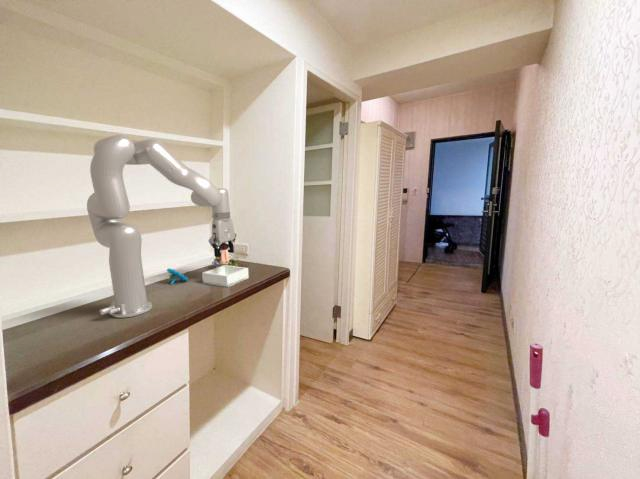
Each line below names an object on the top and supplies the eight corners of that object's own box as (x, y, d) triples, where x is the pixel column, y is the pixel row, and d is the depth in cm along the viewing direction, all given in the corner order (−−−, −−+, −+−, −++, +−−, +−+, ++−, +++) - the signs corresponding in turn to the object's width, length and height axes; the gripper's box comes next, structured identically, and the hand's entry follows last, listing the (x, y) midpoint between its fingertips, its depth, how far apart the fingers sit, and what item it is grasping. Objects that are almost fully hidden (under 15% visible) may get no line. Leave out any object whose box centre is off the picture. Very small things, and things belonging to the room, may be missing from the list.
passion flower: (220, 280, 159) (206, 262, 158) (232, 271, 168) (219, 254, 167) (233, 270, 154) (218, 252, 152) (245, 261, 163) (231, 244, 162)
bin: (227, 287, 131) (226, 276, 130) (203, 283, 137) (202, 272, 136) (248, 278, 144) (248, 267, 143) (225, 274, 150) (224, 265, 149)
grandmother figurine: (225, 265, 135) (223, 237, 133) (217, 264, 136) (214, 237, 134) (233, 260, 143) (231, 234, 140) (225, 260, 143) (223, 234, 141)
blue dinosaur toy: (192, 279, 139) (174, 267, 133) (185, 290, 136) (166, 279, 130) (181, 277, 146) (164, 266, 140) (174, 288, 143) (156, 277, 137)
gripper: (213, 218, 126) (216, 259, 129) (240, 214, 141) (243, 251, 145) (200, 218, 129) (203, 258, 132) (228, 214, 145) (231, 250, 148)
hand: (224, 254), depth 138 cm, fingers closed on grandmother figurine, 7 cm apart
